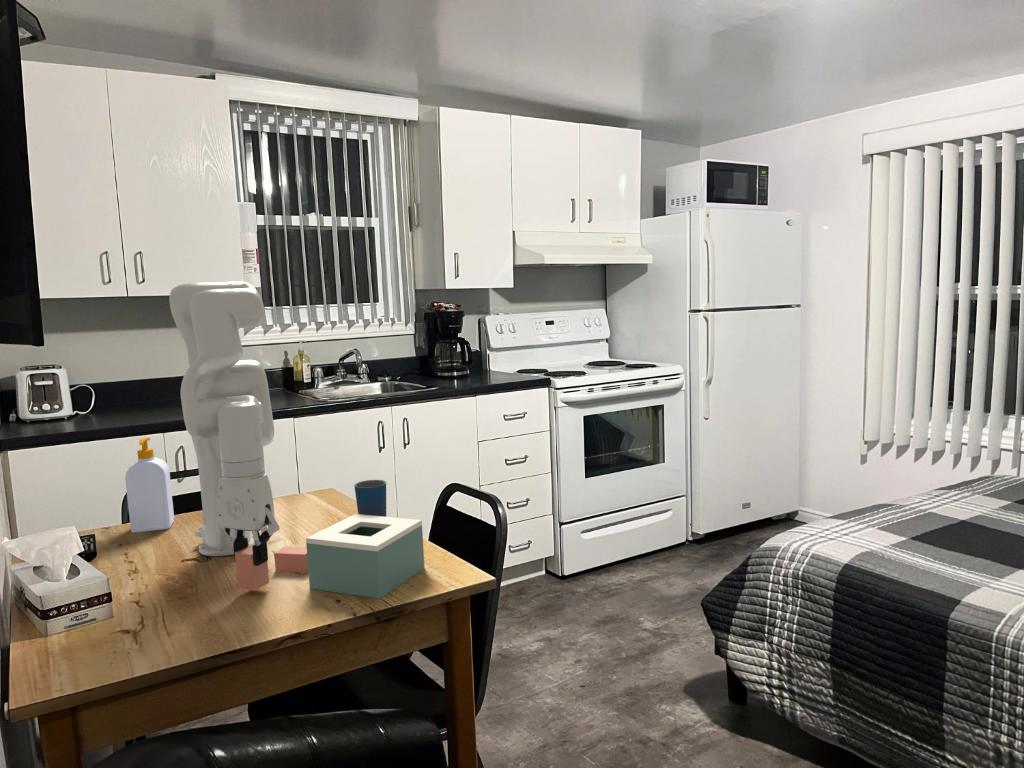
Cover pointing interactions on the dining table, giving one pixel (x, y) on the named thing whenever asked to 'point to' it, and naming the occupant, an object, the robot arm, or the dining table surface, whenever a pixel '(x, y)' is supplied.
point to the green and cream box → (365, 555)
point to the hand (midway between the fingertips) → (251, 560)
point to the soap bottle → (149, 492)
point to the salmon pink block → (250, 570)
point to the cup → (371, 497)
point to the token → (291, 559)
